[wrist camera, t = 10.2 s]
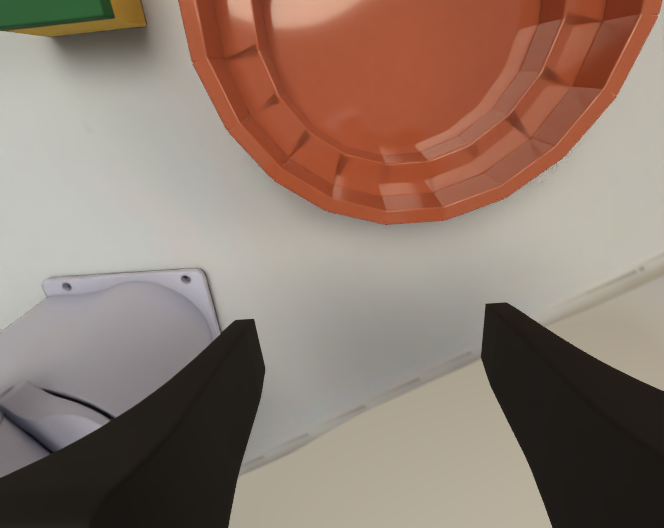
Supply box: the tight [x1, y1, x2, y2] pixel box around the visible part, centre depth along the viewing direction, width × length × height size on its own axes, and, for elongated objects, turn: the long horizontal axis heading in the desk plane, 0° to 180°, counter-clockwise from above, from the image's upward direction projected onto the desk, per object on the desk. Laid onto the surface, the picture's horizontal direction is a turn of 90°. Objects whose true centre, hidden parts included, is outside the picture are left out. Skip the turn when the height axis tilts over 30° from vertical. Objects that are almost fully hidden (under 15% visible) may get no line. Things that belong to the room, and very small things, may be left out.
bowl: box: [178, 0, 662, 225], centre depth 14 cm, size 15×15×4 cm
